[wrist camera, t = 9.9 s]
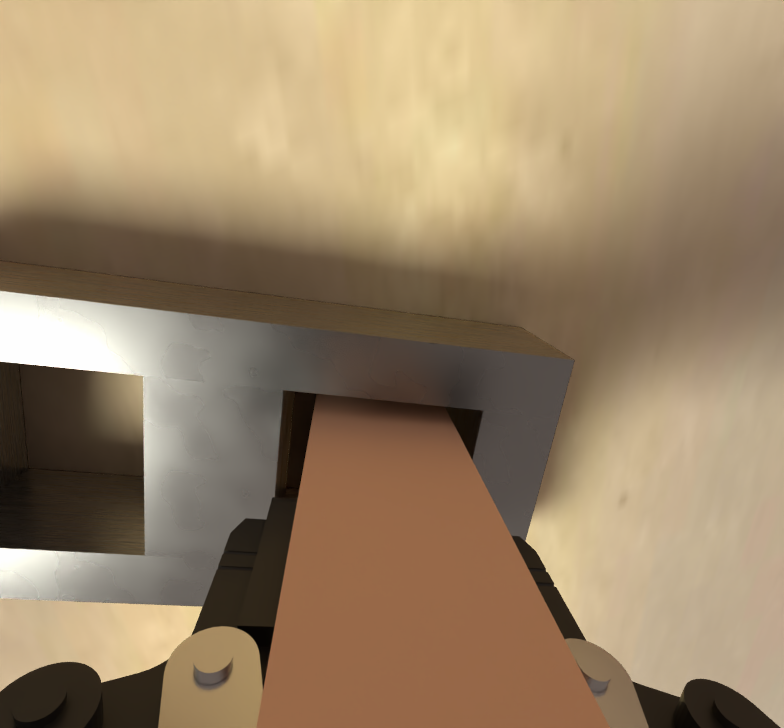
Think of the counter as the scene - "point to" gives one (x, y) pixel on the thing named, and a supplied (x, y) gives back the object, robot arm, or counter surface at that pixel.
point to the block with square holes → (233, 419)
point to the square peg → (409, 590)
